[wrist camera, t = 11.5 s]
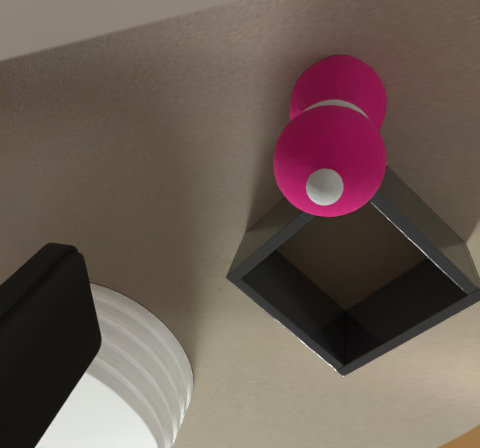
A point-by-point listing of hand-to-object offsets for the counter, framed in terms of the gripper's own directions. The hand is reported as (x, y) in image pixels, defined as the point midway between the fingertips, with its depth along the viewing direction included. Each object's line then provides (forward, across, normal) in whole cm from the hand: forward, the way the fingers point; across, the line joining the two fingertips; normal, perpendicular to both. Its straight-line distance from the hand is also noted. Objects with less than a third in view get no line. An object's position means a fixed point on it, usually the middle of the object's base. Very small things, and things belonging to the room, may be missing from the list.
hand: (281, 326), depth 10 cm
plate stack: (+31, +28, +41) cm, 59 cm away
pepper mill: (+32, 0, +3) cm, 32 cm away
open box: (+31, -3, +17) cm, 36 cm away
